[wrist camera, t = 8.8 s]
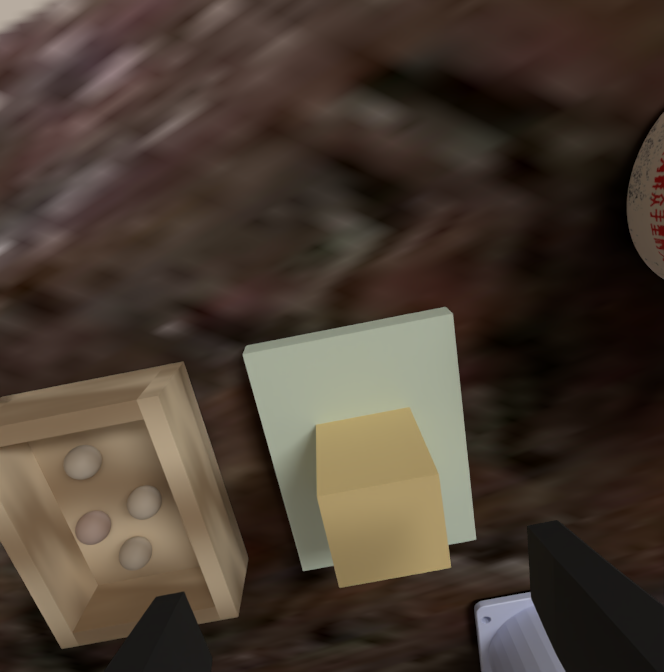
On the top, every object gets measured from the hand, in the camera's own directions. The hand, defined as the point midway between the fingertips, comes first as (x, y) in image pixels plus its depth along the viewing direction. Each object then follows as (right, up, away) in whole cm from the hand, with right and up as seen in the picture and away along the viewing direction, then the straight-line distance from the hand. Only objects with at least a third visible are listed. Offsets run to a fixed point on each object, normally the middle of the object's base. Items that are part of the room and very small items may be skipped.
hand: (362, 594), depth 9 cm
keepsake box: (-10, -2, +11) cm, 15 cm away
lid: (+1, 0, +11) cm, 11 cm away
